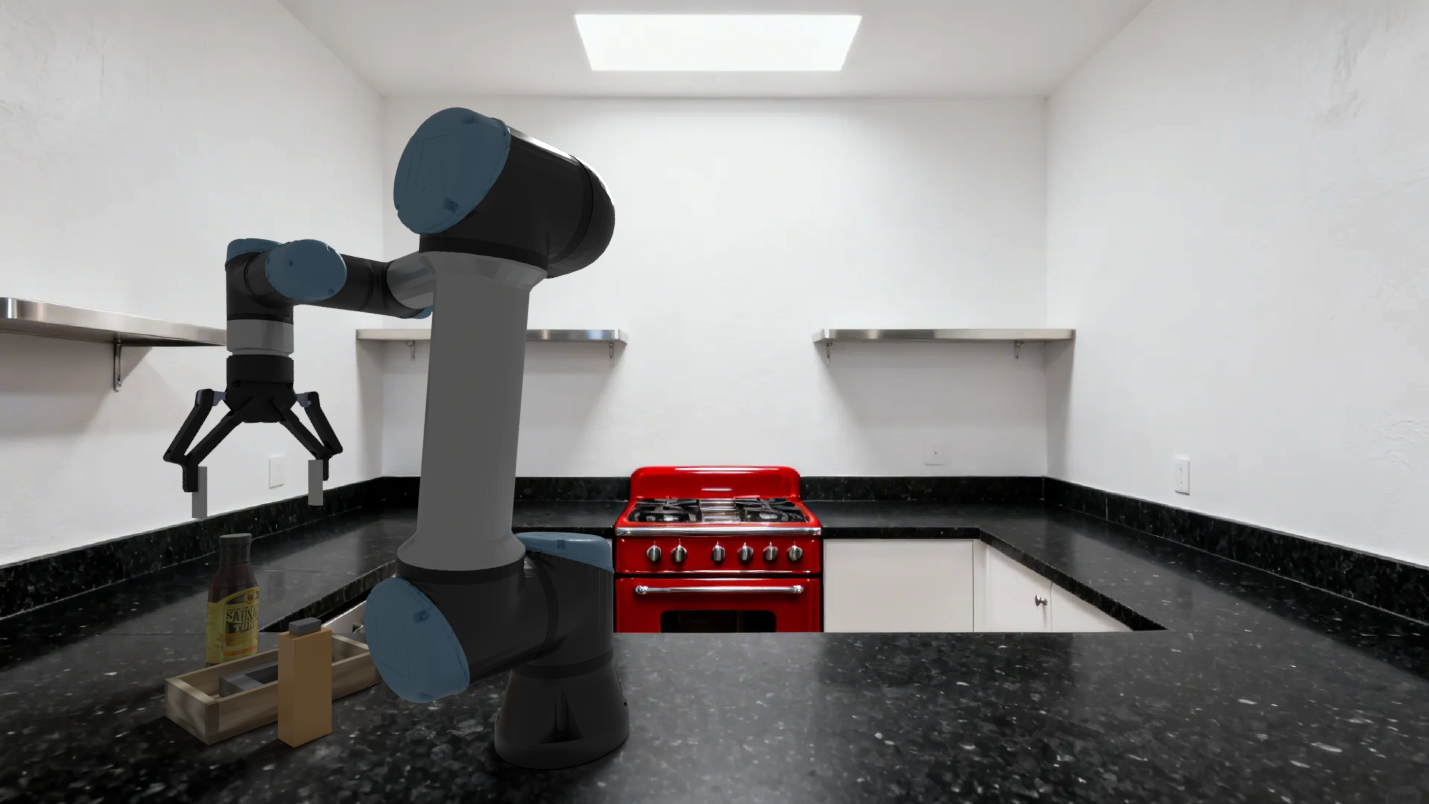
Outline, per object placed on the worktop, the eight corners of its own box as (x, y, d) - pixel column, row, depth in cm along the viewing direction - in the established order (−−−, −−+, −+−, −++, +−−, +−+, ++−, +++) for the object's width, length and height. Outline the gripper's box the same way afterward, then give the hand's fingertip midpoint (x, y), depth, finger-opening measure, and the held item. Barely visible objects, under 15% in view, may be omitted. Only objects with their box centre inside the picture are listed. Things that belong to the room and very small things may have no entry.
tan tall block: (331, 732, 74) (331, 619, 74) (294, 747, 71) (294, 629, 71) (315, 723, 76) (315, 614, 77) (277, 738, 73) (278, 623, 73)
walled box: (382, 682, 88) (382, 649, 88) (208, 745, 72) (208, 705, 72) (332, 662, 96) (332, 632, 96) (164, 715, 79) (164, 679, 79)
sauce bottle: (228, 678, 91) (229, 539, 91) (193, 675, 92) (194, 538, 92) (269, 661, 97) (269, 531, 98) (235, 658, 98) (236, 531, 99)
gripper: (342, 363, 98) (343, 499, 98) (131, 350, 78) (130, 522, 77) (367, 359, 94) (368, 501, 94) (151, 344, 74) (151, 526, 73)
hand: (261, 511), depth 85 cm, fingers open, 13 cm apart
